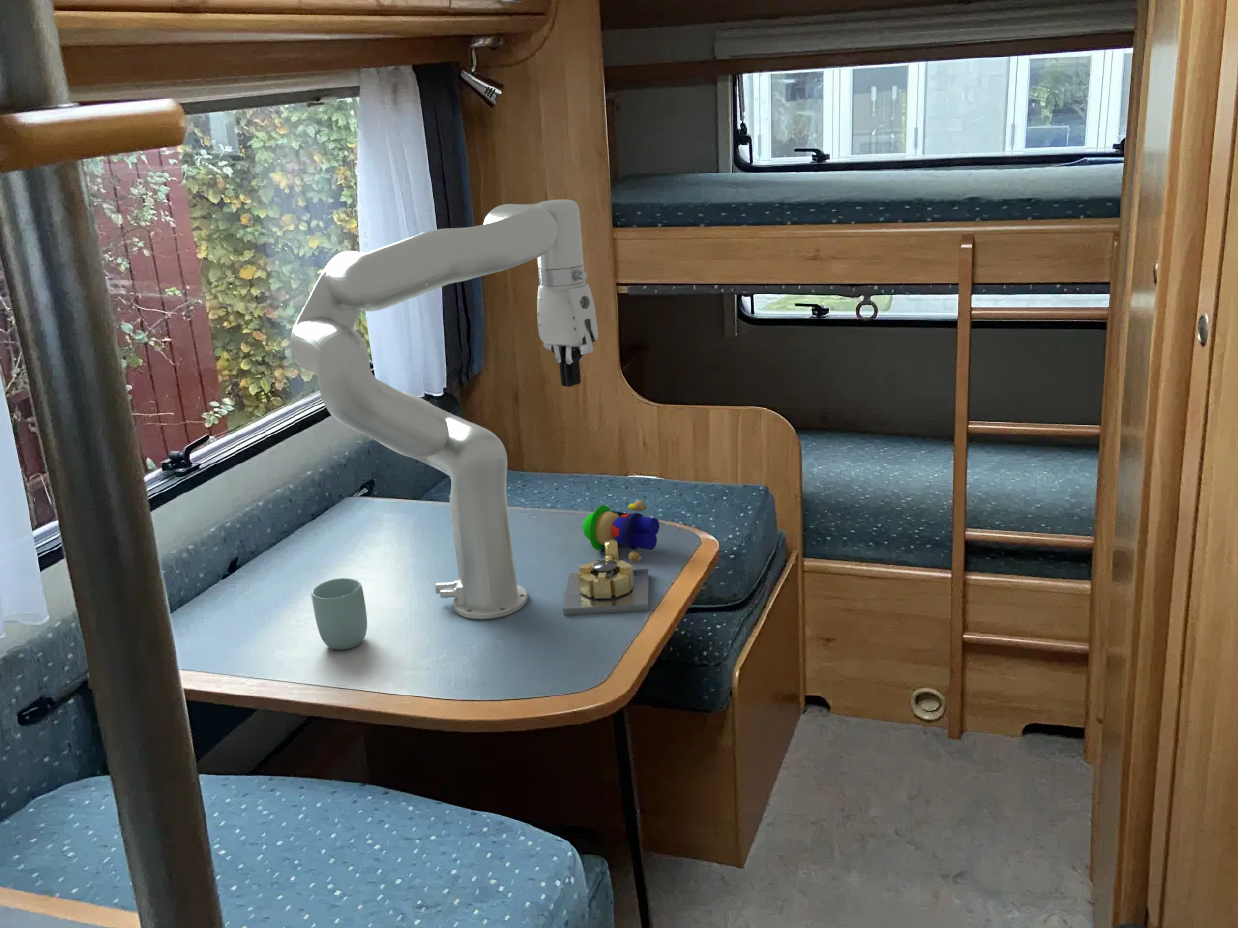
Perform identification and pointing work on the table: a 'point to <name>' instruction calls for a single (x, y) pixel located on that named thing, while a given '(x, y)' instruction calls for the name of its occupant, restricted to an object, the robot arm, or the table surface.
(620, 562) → the ring nut
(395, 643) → the table surface
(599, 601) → the base plate
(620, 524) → the toy
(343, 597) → the cup
